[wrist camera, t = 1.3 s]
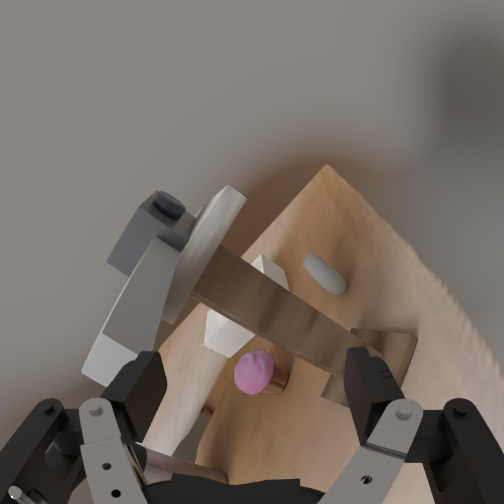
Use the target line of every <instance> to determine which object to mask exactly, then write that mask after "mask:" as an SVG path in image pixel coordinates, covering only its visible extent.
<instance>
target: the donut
mask: <svg viewBox="0 0 504 504" xmlns="http://www.w3.org/2000/svg"><path fill="white" fill-rule="evenodd" d="M304 267H305V269H306V270H307V272H308V273H309V274H310V275H311V276H312V277H313V278H314V279H315V280H316V281H317V282H318V283H319V284H320V285H321V286H322V287H324V288H325V289H326V290H327V291H329V292H330V293H332V294H334V295H341V294H343V293H344V292H345V290H346V288H347V285H346V282H345V280H344V279H343V278H342V277H341V276H340V275H339V274H338V273H337V272H336V271H335V270H334V269H333V268H332V267H331V266H330V265H329V264H328V263H327V262H325V261H324V260H323V259H322V258H320V257H319V256H318V255H316V254H310V255H308V256H307V257H306V258H305V259H304Z"/></svg>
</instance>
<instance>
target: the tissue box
mask: <svg viewBox="0 0 504 504" xmlns="http://www.w3.org/2000/svg"><path fill="white" fill-rule="evenodd" d="M251 265H252V266H253V267H255V268H256V269H258V270H259V271H260V272H262V273H263V274H265V275H266V276H268V277H269V278H271V279H272V280H274V281H275V282H276V283H278V284H279V285H281V286H282V287H284V288H285V289H287V290H288V291H290V290H289V286H288V282H287V279H286V275H285V272H284V270H283V269H282V268H281V267H279V266H278V265H276V264H275V263H274V262H272V261H271V260H269V259H268V258H267V257H265V256H264V255H262V254H260V255H259V256H258V257H257V258H256V260H255V261H254V262H253V263H252V264H251ZM255 335H256V334H254V333H252V332H250V331H248V330H247V329H245V328H243V327H241V326H240V325H238V324H236V323H234V322H233V321H231V320H229V319H228V318H226V317H224V316H223V315H221V314H219V313H217V312H216V311H214V310H212V309H210V310H209V311H208V315H207V323H206V331H205V340H204V345H205V346H207V347H209V348H210V349H212V350H214V351H216V352H218V353H220V354H222V355H224V356H226V357H228V358H230V357H231V356H232V355H234V354H235V353H236V352H237V351H238V350H239V349H240V348H241V347H243V346H244V345H245V344H246V343H247V342H248V341H249V340H250V339H251V338H252V337H254V336H255Z"/></svg>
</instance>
